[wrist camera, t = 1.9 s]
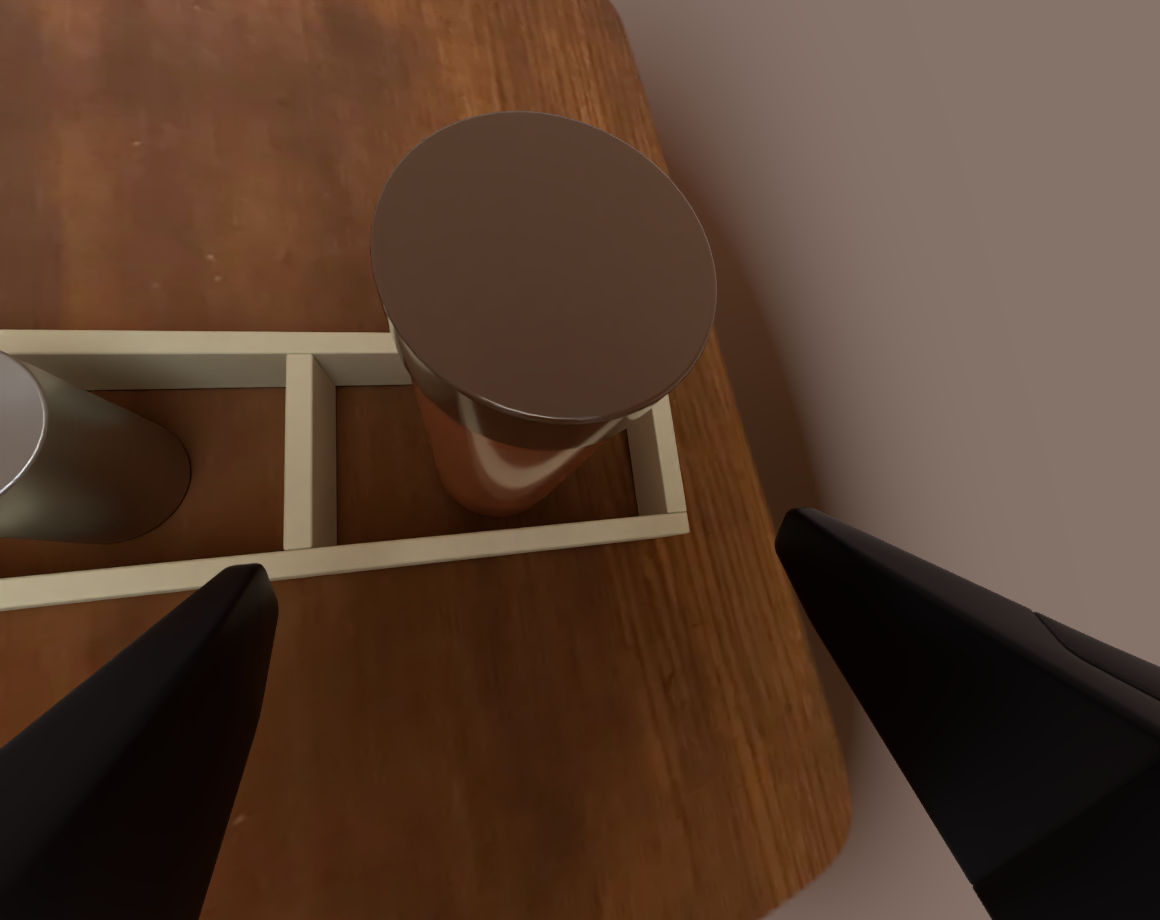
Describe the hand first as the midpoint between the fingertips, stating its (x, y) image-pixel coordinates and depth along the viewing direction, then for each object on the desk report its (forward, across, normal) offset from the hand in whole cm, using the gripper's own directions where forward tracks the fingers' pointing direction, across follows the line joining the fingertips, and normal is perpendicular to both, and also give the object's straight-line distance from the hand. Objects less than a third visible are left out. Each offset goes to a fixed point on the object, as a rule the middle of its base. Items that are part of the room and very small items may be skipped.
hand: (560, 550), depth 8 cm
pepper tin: (+11, +13, +5) cm, 17 cm away
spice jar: (+11, 0, +5) cm, 12 cm away
